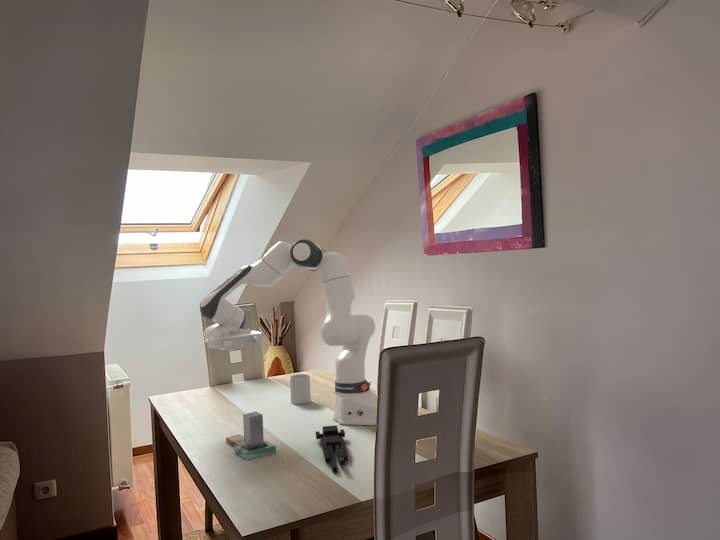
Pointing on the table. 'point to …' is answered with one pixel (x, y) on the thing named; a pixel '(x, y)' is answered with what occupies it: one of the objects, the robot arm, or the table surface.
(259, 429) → the block
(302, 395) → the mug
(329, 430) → the toy
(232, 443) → the tray
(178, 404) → the table surface
